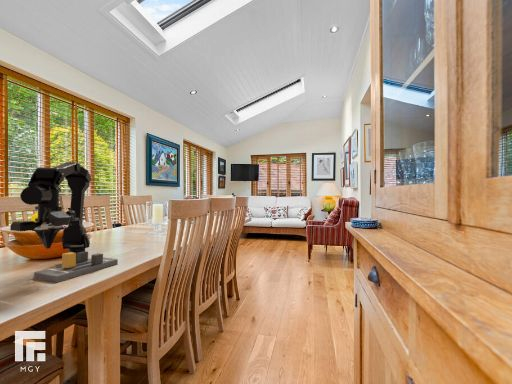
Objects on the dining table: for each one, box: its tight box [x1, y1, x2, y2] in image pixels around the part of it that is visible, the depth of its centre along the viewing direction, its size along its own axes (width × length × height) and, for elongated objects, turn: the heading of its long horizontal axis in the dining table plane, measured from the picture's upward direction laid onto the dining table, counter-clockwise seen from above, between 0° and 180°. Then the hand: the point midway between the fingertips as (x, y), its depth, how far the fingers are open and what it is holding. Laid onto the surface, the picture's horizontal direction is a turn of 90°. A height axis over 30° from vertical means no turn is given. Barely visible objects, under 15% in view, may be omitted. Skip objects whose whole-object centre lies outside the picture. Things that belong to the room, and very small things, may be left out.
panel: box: [33, 250, 119, 283], centre depth 99 cm, size 12×24×6 cm, turn 160°
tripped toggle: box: [61, 252, 76, 268], centre depth 96 cm, size 3×3×5 cm
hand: (47, 248), depth 89 cm, fingers closed
